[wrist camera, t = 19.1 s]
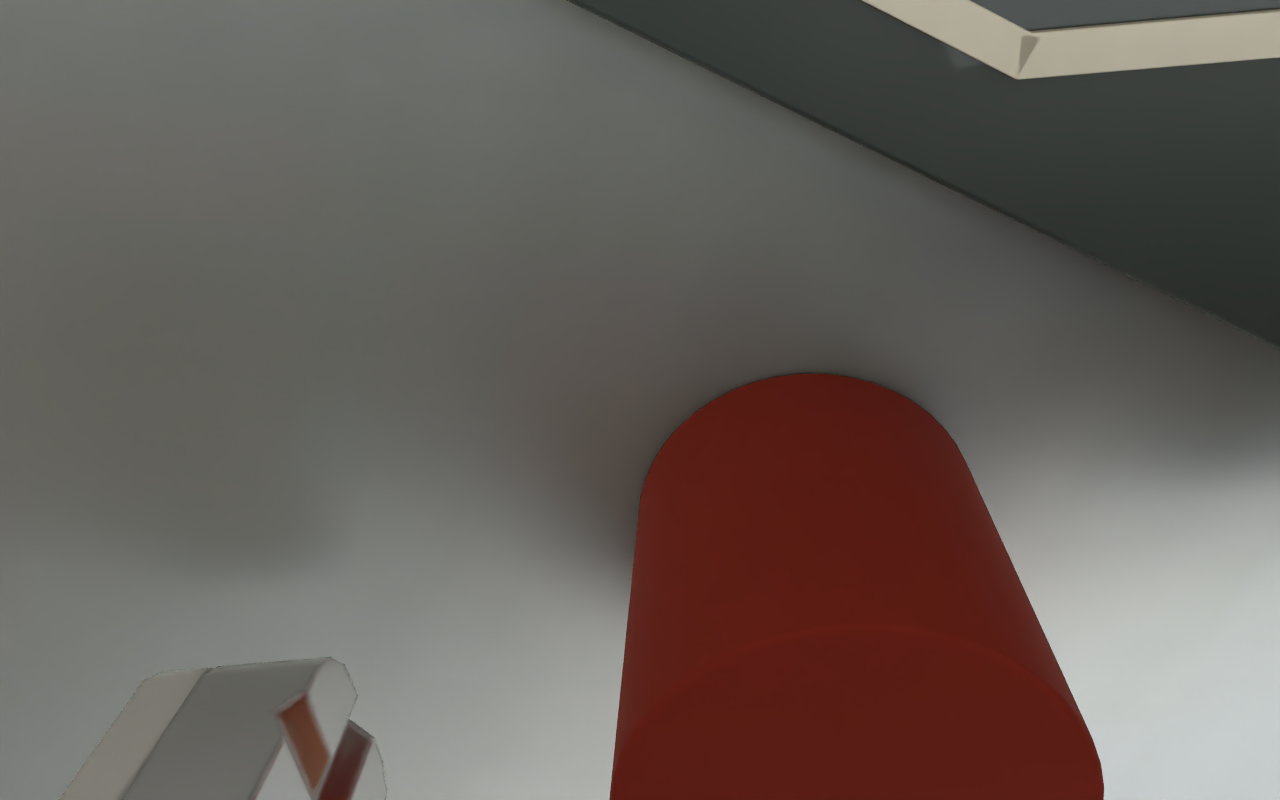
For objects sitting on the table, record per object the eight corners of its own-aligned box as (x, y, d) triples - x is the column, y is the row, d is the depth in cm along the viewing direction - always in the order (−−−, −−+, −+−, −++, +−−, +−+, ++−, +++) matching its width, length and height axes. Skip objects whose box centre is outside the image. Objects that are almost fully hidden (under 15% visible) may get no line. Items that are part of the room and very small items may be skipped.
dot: (866, 694, 11) (934, 1033, 8) (586, 582, 10) (536, 892, 7) (1042, 456, 10) (1214, 745, 6) (731, 314, 9) (745, 549, 6)
